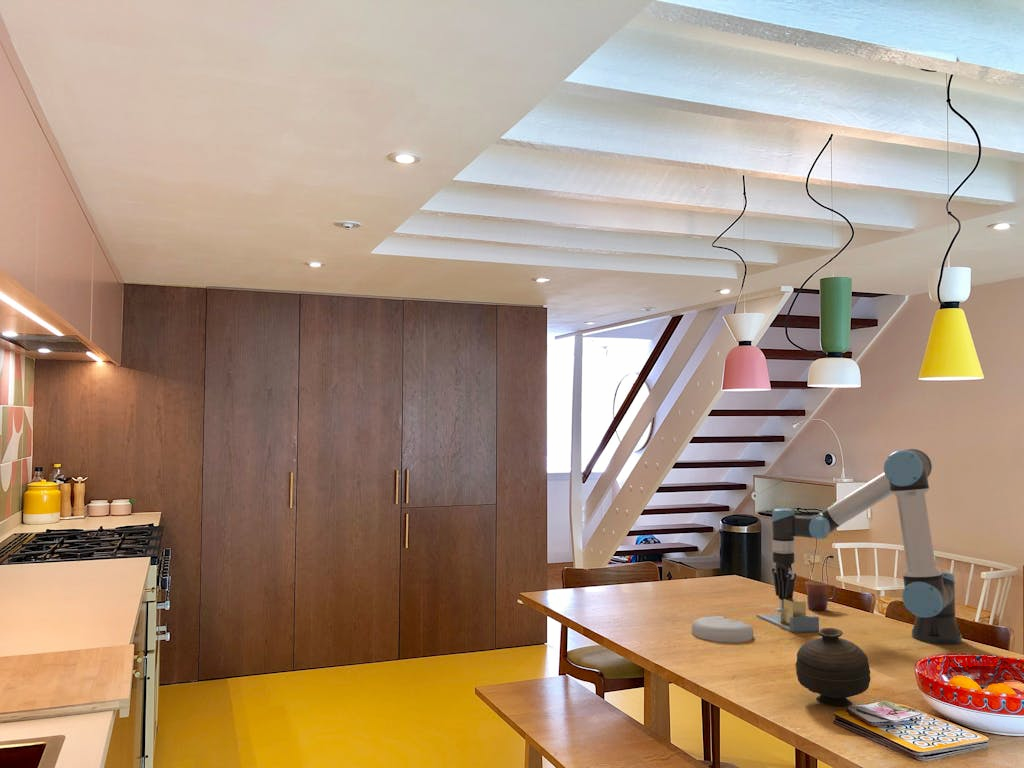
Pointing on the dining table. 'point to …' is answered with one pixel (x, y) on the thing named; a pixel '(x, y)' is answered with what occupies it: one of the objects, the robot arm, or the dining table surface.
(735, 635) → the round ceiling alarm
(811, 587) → the mug
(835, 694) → the pot
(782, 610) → the slide jaw
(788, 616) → the brass block
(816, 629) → the vise body
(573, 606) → the dining table surface
